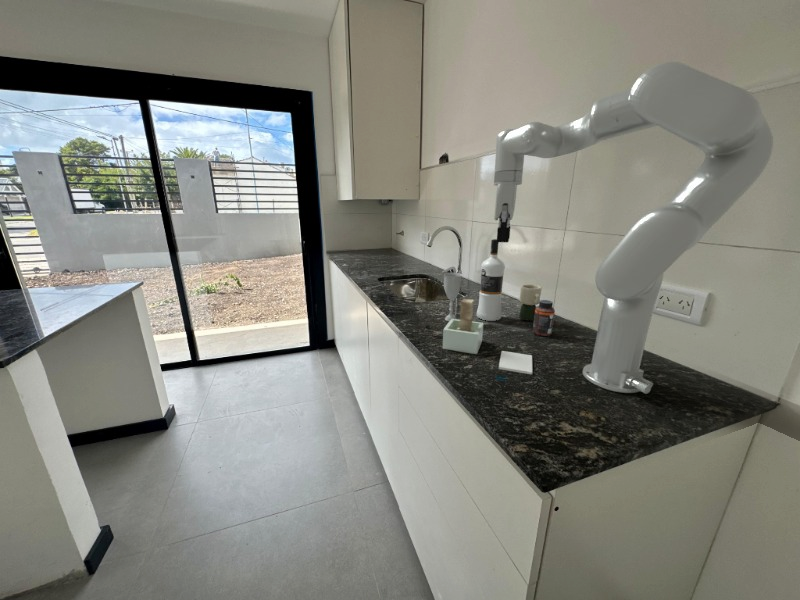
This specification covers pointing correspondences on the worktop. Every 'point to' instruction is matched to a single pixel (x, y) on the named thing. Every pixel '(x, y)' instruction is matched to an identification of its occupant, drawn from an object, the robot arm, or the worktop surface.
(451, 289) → the chalice
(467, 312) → the wooden block with tab
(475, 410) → the worktop surface
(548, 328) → the supplement bottle
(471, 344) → the holder
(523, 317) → the character mug
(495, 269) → the vodka
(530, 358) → the tile
